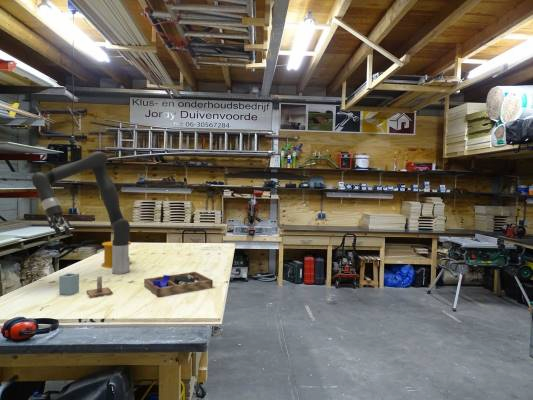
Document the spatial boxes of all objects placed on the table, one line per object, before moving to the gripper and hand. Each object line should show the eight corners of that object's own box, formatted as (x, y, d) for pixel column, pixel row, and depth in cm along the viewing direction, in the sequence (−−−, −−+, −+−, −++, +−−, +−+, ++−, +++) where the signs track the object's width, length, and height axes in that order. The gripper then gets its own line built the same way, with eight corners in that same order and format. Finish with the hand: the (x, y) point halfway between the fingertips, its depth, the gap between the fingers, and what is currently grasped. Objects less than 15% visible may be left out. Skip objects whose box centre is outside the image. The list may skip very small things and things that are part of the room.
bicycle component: (188, 276, 197) (169, 283, 184) (192, 266, 195) (172, 272, 182) (203, 287, 192) (184, 295, 179) (207, 276, 190) (188, 284, 177)
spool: (133, 265, 230) (133, 243, 229) (104, 269, 219) (104, 245, 219) (127, 260, 244) (127, 239, 244) (99, 263, 234) (99, 241, 234)
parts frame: (195, 278, 201) (195, 271, 201) (212, 287, 184) (212, 280, 184) (144, 286, 184) (144, 278, 184) (157, 297, 166) (157, 288, 166)
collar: (68, 290, 173) (68, 273, 173) (78, 291, 173) (78, 273, 172) (59, 294, 167) (59, 276, 167) (70, 295, 167) (70, 276, 166)
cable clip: (161, 285, 184) (162, 274, 184) (169, 286, 184) (169, 275, 183) (150, 292, 173) (150, 280, 172) (158, 293, 172) (158, 281, 171)
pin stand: (108, 289, 177) (108, 273, 177) (112, 294, 169) (112, 278, 169) (86, 292, 171) (86, 276, 171) (90, 298, 163) (90, 281, 163)
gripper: (50, 203, 175) (63, 231, 174) (66, 205, 189) (78, 231, 188) (36, 210, 175) (49, 238, 174) (54, 211, 189) (66, 238, 188)
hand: (64, 235), depth 181 cm, fingers open, 8 cm apart
